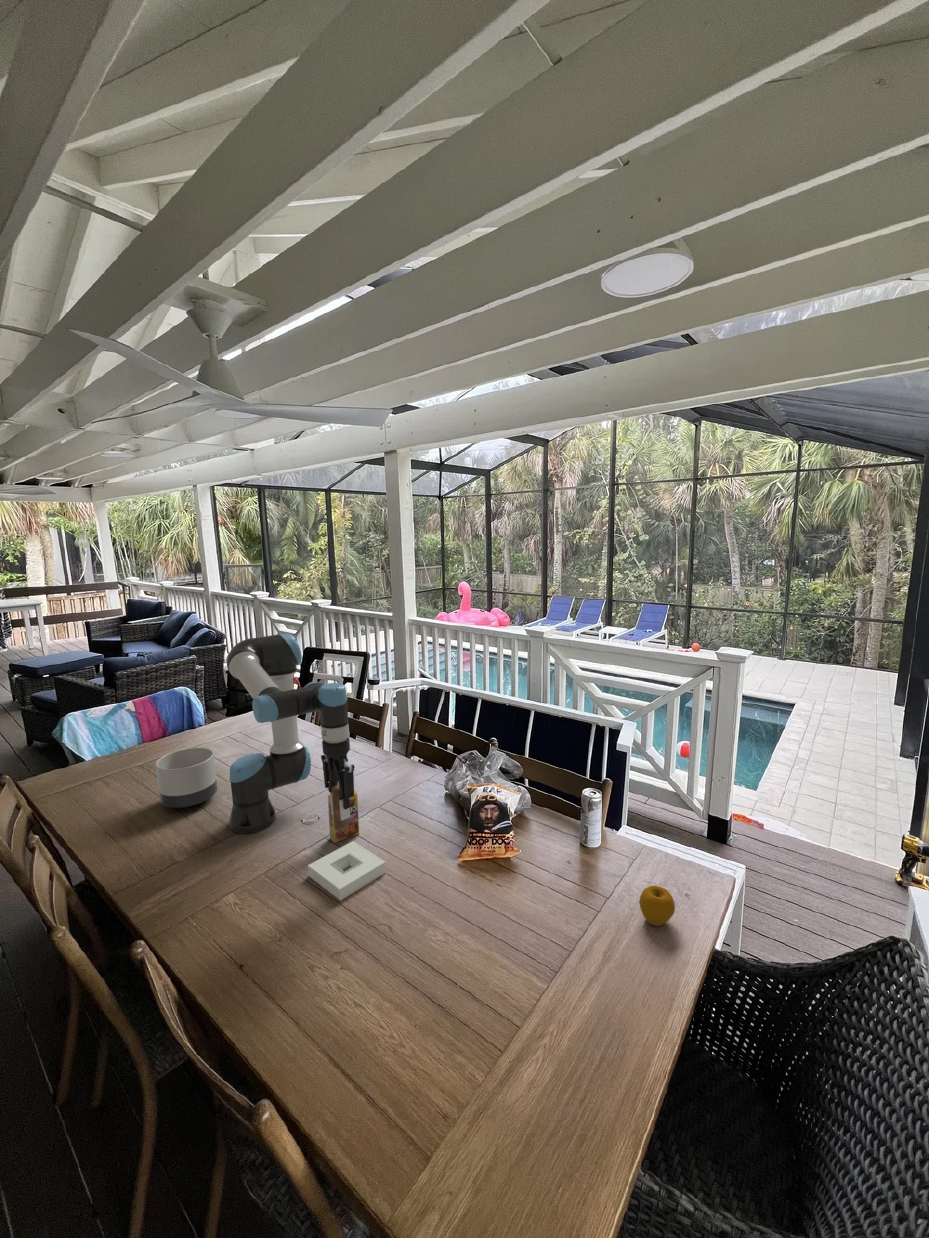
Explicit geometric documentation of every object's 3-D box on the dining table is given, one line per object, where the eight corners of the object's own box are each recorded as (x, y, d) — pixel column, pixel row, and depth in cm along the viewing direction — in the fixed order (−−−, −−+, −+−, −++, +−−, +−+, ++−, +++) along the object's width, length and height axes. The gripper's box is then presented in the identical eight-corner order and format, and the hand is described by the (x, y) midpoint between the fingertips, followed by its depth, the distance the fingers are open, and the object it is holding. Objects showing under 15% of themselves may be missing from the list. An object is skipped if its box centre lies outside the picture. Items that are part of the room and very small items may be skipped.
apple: (670, 939, 130) (671, 907, 128) (634, 926, 134) (636, 894, 133) (676, 917, 137) (678, 886, 136) (643, 905, 141) (644, 875, 140)
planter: (148, 809, 195) (143, 764, 192) (193, 786, 213) (188, 744, 210) (187, 819, 188) (181, 773, 185) (229, 794, 206) (225, 751, 203)
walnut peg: (331, 826, 153) (328, 788, 152) (343, 821, 156) (340, 783, 154) (339, 831, 151) (336, 792, 149) (351, 826, 154) (348, 787, 152)
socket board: (308, 875, 156) (307, 864, 156) (353, 851, 168) (352, 840, 167) (340, 900, 145) (339, 888, 145) (385, 872, 157) (385, 861, 156)
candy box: (334, 844, 172) (331, 800, 169) (329, 837, 175) (326, 795, 173) (360, 835, 177) (357, 792, 174) (355, 829, 180) (352, 787, 178)
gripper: (307, 735, 152) (313, 810, 156) (341, 750, 141) (346, 831, 145) (330, 727, 158) (335, 800, 161) (364, 741, 146) (369, 820, 150)
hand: (340, 815), depth 153 cm, fingers closed on walnut peg, 4 cm apart
